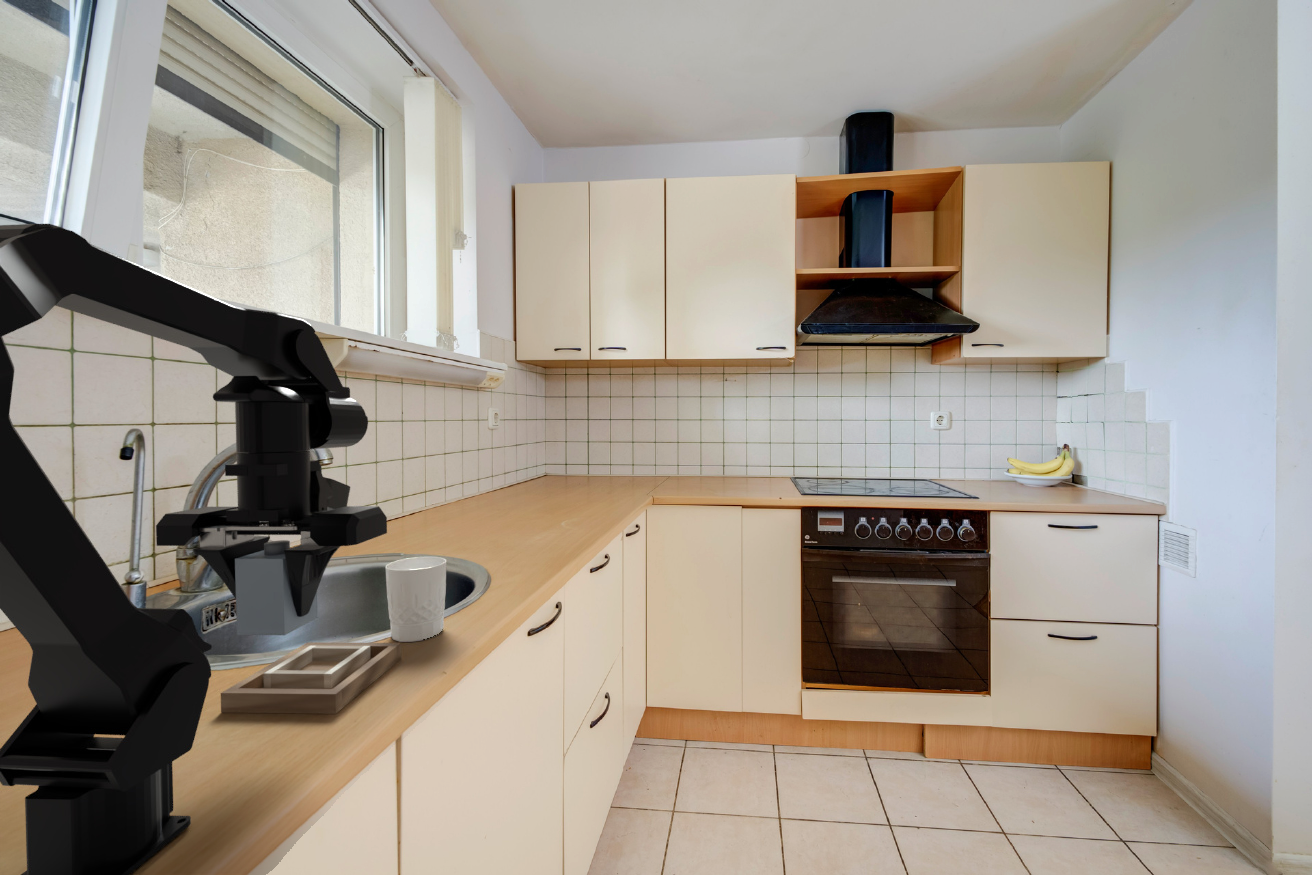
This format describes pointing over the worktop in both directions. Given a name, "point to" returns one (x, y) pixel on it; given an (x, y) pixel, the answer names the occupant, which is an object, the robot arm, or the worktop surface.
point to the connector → (267, 593)
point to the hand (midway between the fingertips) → (278, 615)
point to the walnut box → (312, 679)
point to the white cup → (416, 597)
